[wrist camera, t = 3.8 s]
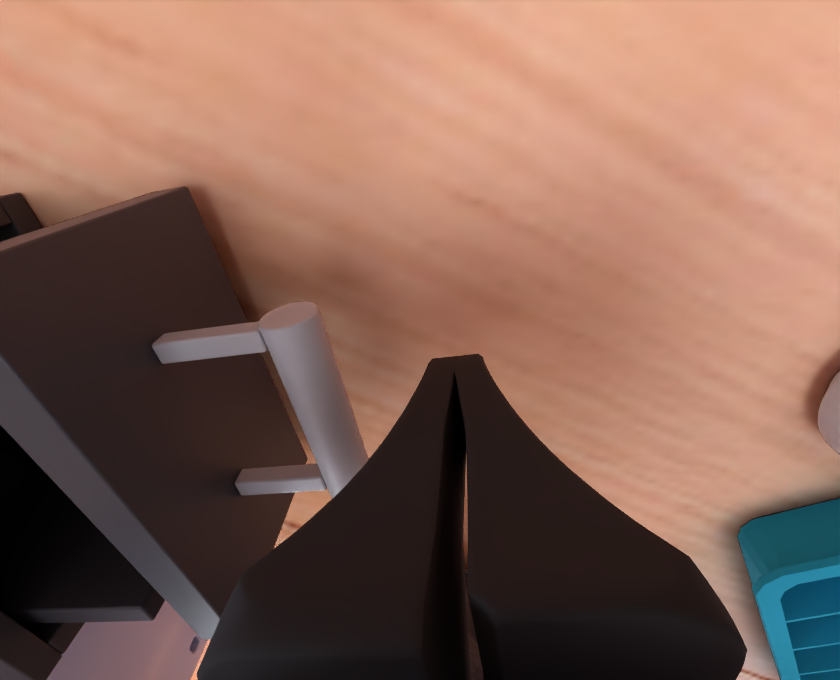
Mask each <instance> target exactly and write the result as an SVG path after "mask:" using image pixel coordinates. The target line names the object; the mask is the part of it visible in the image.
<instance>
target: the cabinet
mask: <svg viewBox="0 0 840 680" xmlns="http://www.w3.org/2000/svg"><path fill="white" fill-rule="evenodd" d="M39 229H42V226H41V225H40V223H39V221H38V220H37V218H36V217H35V215H34V214H33V212H32V211H31V209H30V208H29V206H28V205H27V203H26V201H25V200H24V198H23V197H22V195H21V194H20V193H14V194H9V195H4V196H0V242H2V241H5V240H8V239H11V238H14V237H17V236H20V235H23V234H26V233H30V232H33V231H36V230H39ZM84 624H85V622H75V623H27V624H19V623H17V622H16V621H15V620H13V619H12V618H10V617H9V616H8V615H6V614H5V613H4V612H2V611H1V610H0V680H47V678H48V677H49V675H50V674H51V672H52V671H53V669H54V668H55V666H56V665H57V663H58V662H59V661H60V659H61V658H62V655H61V654H63V653H64V652H65V651H66V650H67V648H68V647H69V646H70V644H71V643H72V641H73V640H74V638H75V637H76V635H77V634H78V632H79V631H80V629H81V628H82V627H83V625H84Z"/></svg>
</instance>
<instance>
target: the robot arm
mask: <svg viewBox="0 0 840 680" xmlns="http://www.w3.org/2000/svg"><path fill="white" fill-rule="evenodd" d="M466 455H467V495H468V598H469V603H470V608H471V613H472V618H473V623H474V629H475V634H476V639H477V644H478V649H479V654H480V659H481V664H482V669H483V680H736V678H737V676H738V675H739V673H740V671H741V669H742V667H743V664H744V661H745V657H746V653H747V648H746V646H745V644H744V642H743V639H742V637H741V635H740V633H739V631H738V629H737V627H736V625H735V623H734V621H733V620H732V618H731V616H730V615H729V613H728V611H727V610H726V608H725V606H724V605H723V603H722V602H721V600H720V599H719V597H718V596H717V595H716V593H715V592H714V590H713V589H712V587H711V586H710V584H709V583H708V581H707V580H706V579H705V577H704V576H703V575H702V573H701V572H700V570H699V569H698V568H697V566H696V565H695V564H694V562H693V561H692V560H691V558H690V557H689V556H687V555H686V554H684V553H683V552H681V551H680V550H678V549H677V548H675V547H674V546H672V545H671V544H669V543H668V542H666V541H665V540H663V539H661V538H660V537H658V536H657V535H655V534H654V533H652V532H651V531H649V530H648V529H646V528H645V527H643V526H642V525H640V524H639V523H637V522H636V521H635V520H633V519H632V518H630V517H629V516H628V515H626V514H625V513H624V512H622V511H621V510H620V509H618V508H617V507H616V506H614V505H613V504H612V503H610V502H609V501H608V500H606V499H605V498H604V497H603V496H601V495H600V494H599V493H598V492H597V491H595V490H594V489H593V488H592V487H591V486H589V485H588V484H587V483H586V482H585V481H583V480H582V479H581V478H580V477H579V476H577V475H576V474H575V473H574V472H573V471H571V470H570V469H569V468H568V467H567V466H566V465H565V464H564V463H563V462H562V461H561V460H559V459H558V458H557V457H556V456H555V455H554V454H553V453H552V452H551V451H550V450H549V449H548V448H547V447H546V446H545V445H544V444H543V443H542V442H541V441H540V440H539V439H538V437H537V436H536V435H535V434H534V433H533V432H532V431H531V430H530V429H529V427H528V426H527V425H526V424H525V423H524V421H523V420H522V419H521V418H520V417H519V415H518V414H517V413H516V412H515V410H514V409H513V408H512V406H511V405H510V404H509V402H508V401H507V399H506V398H505V397H504V395H503V394H502V392H501V391H500V389H499V388H498V386H497V385H496V383H495V382H494V380H493V378H492V376H491V375H490V373H489V371H488V369H487V367H486V365H485V362H484V359H483V357H482V356H481V355H479V354H471V355H462V356H453V357H443V358H434V359H432V360H431V361H430V362H429V363H428V366H427V368H426V370H425V373H424V375H423V377H422V379H421V381H420V383H419V385H418V387H417V389H416V391H415V392H414V394H413V396H412V398H411V399H410V401H409V403H408V405H407V406H406V408H405V410H404V411H403V413H402V415H401V416H400V418H399V419H398V421H397V422H396V424H395V425H394V427H393V428H392V430H391V431H390V432H389V434H388V435H387V437H386V438H385V439H384V441H383V442H382V444H381V445H380V446H379V447H378V449H377V450H376V451H375V453H374V454H373V455H372V456H371V457H370V459H369V460H368V461H367V462H366V463H365V465H364V466H363V467H362V468H361V469H360V470H359V471H358V472H357V474H356V475H355V476H354V477H353V478H352V479H351V480H350V481H349V482H348V483H347V485H346V486H345V487H344V488H343V489H342V490H341V491H340V492H339V493H338V494H337V495H336V496H335V497H334V498H333V499H332V500H331V501H330V502H328V503H327V504H326V505H325V506H324V507H323V508H322V509H321V510H320V511H319V512H318V513H317V514H315V515H314V516H313V517H312V518H311V519H310V520H309V521H308V522H307V523H305V524H304V525H303V526H302V527H301V528H300V529H298V530H297V531H296V532H295V533H294V534H292V535H291V536H290V537H289V538H287V539H286V540H285V541H284V542H282V543H281V544H280V545H278V546H277V547H276V548H274V549H273V550H272V551H271V552H269V553H268V554H267V555H265V556H264V557H263V558H262V559H260V560H259V561H258V562H256V563H255V564H254V565H252V566H251V567H250V568H248V569H247V570H246V571H244V572H243V573H242V575H241V577H240V579H239V581H238V583H237V585H236V586H235V588H234V590H233V592H232V594H231V596H230V598H229V600H228V602H227V604H226V606H225V609H224V611H223V613H222V615H221V618H220V620H219V623H218V625H217V627H216V630H215V632H214V634H213V637H212V639H211V641H210V644H209V646H208V648H207V651H206V653H205V655H204V658H203V660H202V662H201V665H200V667H199V669H198V672H197V678H198V680H472V679H471V664H470V649H469V633H468V616H467V600H466V583H465V565H464V547H463V522H464V495H465V467H466ZM207 641H208V640H203V639H202V638H201V637H200V636H199V635H198V634H197V633H196V632H195V631H194V630H193V629H192V628H191V627H190V626H189V625H188V624H187V623H186V621H185V620H184V619H183V618H182V617H181V616H180V615H179V614H178V613H177V612H176V611H175V610H174V609H173V608H172V607H171V606H170V604H169V603H168V602H167V601H166V600H165V602H164V603H163V605H162V607H161V609H160V611H159V612H158V614H157V616H156V618H155V619H154V620H153V621H122V622H85V624H84V625H83V627H82V628H81V629H80V631H79V632H78V634H77V635H76V637H75V638H74V640H73V641H72V643H71V644H70V646H69V647H68V648H67V650H66V651H65V652H64V653H63V654H61V655H62V658H61V659H60V661H59V662H58V663H57V665H56V666H55V668H54V669H53V671H52V672H51V674H50V675H49V677H48V678H47V680H190V679H191V677H192V675H193V673H194V670H195V668H196V666H197V663H198V661H199V659H200V657H201V654H202V652H203V650H204V647H205V645H206V643H207Z"/></svg>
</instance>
